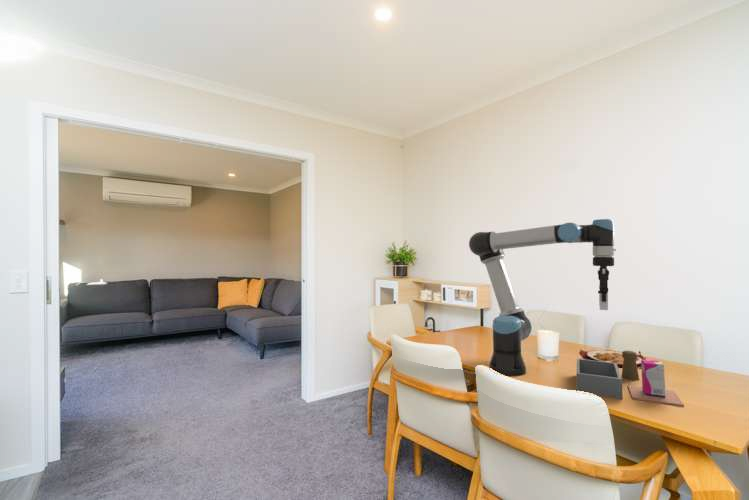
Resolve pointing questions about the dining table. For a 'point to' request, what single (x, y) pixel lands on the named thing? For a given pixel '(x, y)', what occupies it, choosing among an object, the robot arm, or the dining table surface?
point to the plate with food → (609, 357)
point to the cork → (629, 366)
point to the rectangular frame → (599, 378)
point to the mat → (669, 396)
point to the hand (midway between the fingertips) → (603, 307)
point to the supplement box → (653, 378)
